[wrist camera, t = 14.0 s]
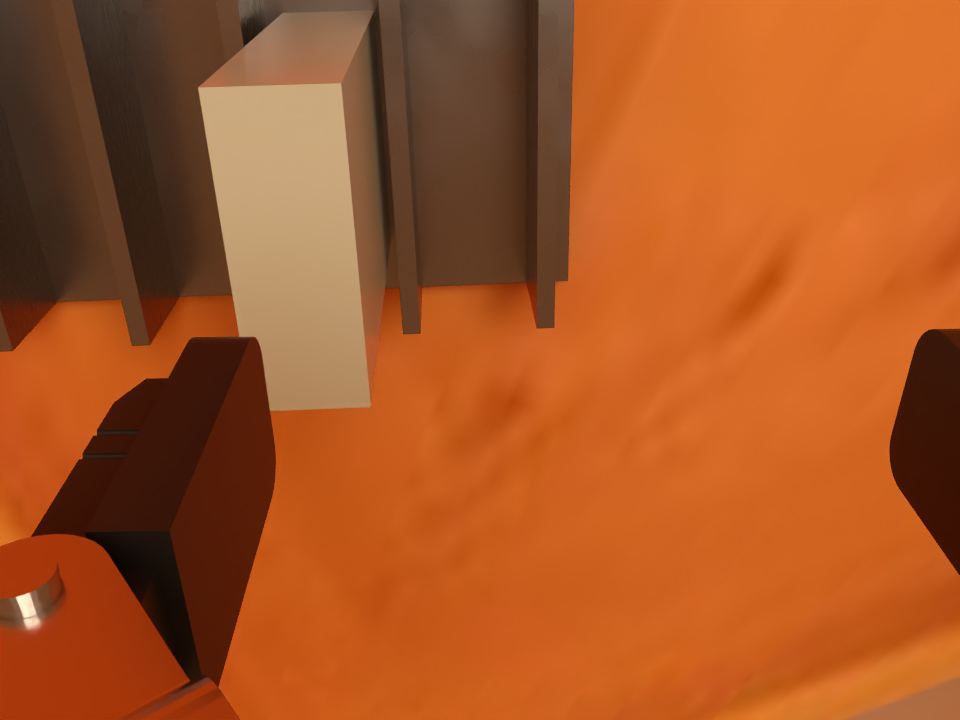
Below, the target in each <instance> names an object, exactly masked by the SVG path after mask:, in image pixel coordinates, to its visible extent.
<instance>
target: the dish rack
mask: <svg viewBox="0 0 960 720" xmlns="http://www.w3.org/2000/svg"><path fill="white" fill-rule="evenodd" d="M367 10H374V12H375V26H376V40H377V54H378V68H379V81H380V95H381V109H382V123H383V137H384V151H385V165H386V179H387V193H388V207H389V221H390V235H391V243H390V251H389V259H388V268H387V276H386V285H385V288H400V299H401V313H402V326H403V334H420V333H421V303H422V287H429V286H453V285H477V284H501V283H525V282H526V283H527V288H528V292H529V296H530V301H531V305H532V309H533V314H534V318H535V323H536V327H537V328H554V310H555V281H568V252H569V208H570V164H571V121H572V77H573V33H574V0H0V352H2V351H13V350H14V349H15V348H16V347H17V346H18V345H19V344H20V343H21V341H22V340H23V339H24V338H25V337H26V336H27V335H28V334H29V332H30V331H31V330H32V329H33V328H34V327H35V326H36V325H37V324H38V322H39V321H40V320H41V319H42V318H43V317H44V316H45V315H46V313H47V312H48V311H49V310H50V309H51V308H52V307H53V306H54V304H55V303H56V302H68V301H92V300H116V299H121V301H122V305H123V309H124V313H125V318H126V322H127V326H128V330H129V335H130V339H131V343H132V346H141V345H150V344H151V343H152V341H153V339H154V338H155V336H156V334H157V333H158V331H159V330H160V328H161V326H162V325H163V323H164V321H165V320H166V318H167V316H168V315H169V313H170V311H171V310H172V308H173V307H174V305H175V303H176V302H177V300H178V298H179V297H189V296H213V295H232V289H231V283H230V277H229V271H228V265H227V259H226V253H225V247H224V241H223V235H222V229H221V223H220V217H219V211H218V205H217V199H216V193H215V187H214V181H213V175H212V169H211V163H210V157H209V151H208V145H207V139H206V133H205V127H204V121H203V114H202V108H201V102H200V96H199V90H198V87H199V86H200V85H202V84H203V83H204V82H205V81H206V80H207V79H208V78H209V77H211V76H212V75H213V74H214V73H215V72H216V71H217V70H219V69H220V68H221V67H222V66H223V65H224V64H225V63H226V62H228V61H229V60H230V59H231V58H232V57H233V56H234V55H236V54H237V53H238V52H239V51H240V50H241V49H242V48H243V47H245V46H246V45H247V44H248V43H249V42H250V41H251V40H253V39H254V38H255V37H256V36H257V35H258V34H259V33H261V32H262V31H263V30H264V29H265V28H266V27H267V26H268V25H270V24H271V23H272V22H273V21H274V20H275V19H276V18H278V17H279V16H280V15H281V14H282V13H295V12H331V11H367Z"/></svg>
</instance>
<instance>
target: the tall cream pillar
mask: <svg viewBox="0 0 960 720" xmlns="http://www.w3.org/2000/svg"><path fill="white" fill-rule="evenodd" d="M198 90H199V96H200V102H201V108H202V114H203V121H204V127H205V133H206V139H207V145H208V151H209V157H210V163H211V169H212V175H213V181H214V187H215V193H216V199H217V205H218V211H219V217H220V223H221V229H222V235H223V241H224V247H225V253H226V259H227V265H228V271H229V277H230V283H231V289H232V295H233V302H234V308H235V314H236V320H237V326H238V332H239V337H256V339H257V340H258V342H259V345H260V348H261V352H262V358H263V365H264V372H265V379H266V386H267V394H268V401H269V408H270V411H289V410H313V409H337V408H362V407H371V402H372V393H373V385H374V377H375V368H376V360H377V351H378V343H379V335H380V326H381V318H382V310H383V301H384V293H385V285H386V276H387V268H388V259H389V251H390V243H391V235H390V221H389V207H388V193H387V179H386V165H385V151H384V137H383V123H382V109H381V95H380V81H379V68H378V54H377V40H376V26H375V12H374V10H367V11H331V12H295V13H282V14H281V15H280V16H279V17H278V18H276V19H275V20H274V21H273V22H272V23H271V24H270V25H268V26H267V27H266V28H265V29H264V30H263V31H262V32H261V33H259V34H258V35H257V36H256V37H255V38H254V39H253V40H251V41H250V42H249V43H248V44H247V45H246V46H245V47H243V48H242V49H241V50H240V51H239V52H238V53H237V54H236V55H234V56H233V57H232V58H231V59H230V60H229V61H228V62H226V63H225V64H224V65H223V66H222V67H221V68H220V69H219V70H217V71H216V72H215V73H214V74H213V75H212V76H211V77H209V78H208V79H207V80H206V81H205V82H204V83H203V84H202V85H200V86H199V87H198Z"/></svg>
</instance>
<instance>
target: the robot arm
mask: <svg viewBox="0 0 960 720" xmlns="http://www.w3.org/2000/svg"><path fill="white" fill-rule="evenodd" d="M890 463H891V469H892V473H893V476H894V479H895V481H896V484H897V486H898V487H899V489H900V490H901V492H902V493H903V495H904V496H905V498H906V499H907V500H908V502H909V503H910V505H911V506H912V508H913V509H914V510H915V512H916V513H917V515H918V516H919V518H920V519H921V521H922V522H923V523H924V525H925V526H926V528H927V529H928V531H929V532H930V533H931V535H932V536H933V538H934V539H935V541H936V542H937V543H938V545H939V546H940V548H941V549H942V551H943V552H944V554H945V555H946V556H947V558H948V559H949V561H950V562H951V564H952V565H953V566H954V568H955V569H956V571H957V572H958V574H959V575H960V329H932V330H928V331H927V332H925V333H924V334H923V335H922V336H921V338H920V339H919V341H918V343H917V345H916V347H915V350H914V354H913V358H912V361H911V365H910V369H909V372H908V376H907V380H906V383H905V387H904V391H903V394H902V398H901V402H900V405H899V409H898V413H897V416H896V420H895V424H894V427H893V431H892V435H891V440H890ZM275 468H276V459H275V444H274V436H273V429H272V422H271V415H270V408H269V401H268V394H267V386H266V379H265V372H264V365H263V358H262V352H261V348H260V345H259V342H258V340H257V339H256V337H194V338H191V339H190V340H189V341H188V343H187V345H186V347H185V349H184V350H183V352H182V354H181V356H180V358H179V360H178V361H177V363H176V365H175V367H174V369H173V371H172V372H171V374H170V376H169V378H159V379H145V380H144V381H143V382H141V383H140V384H139V385H137V386H136V387H135V388H133V389H132V390H131V391H129V392H128V393H126V394H125V395H124V396H122V397H121V398H120V399H118V400H117V401H116V402H114V404H113V405H112V407H111V408H110V410H109V412H108V413H107V415H106V416H105V418H104V420H103V421H102V423H101V425H100V426H99V428H98V429H97V436H93V438H92V439H91V441H90V442H89V444H88V446H87V447H86V449H85V450H84V452H83V459H79V460H78V462H77V463H76V465H75V467H74V468H73V470H72V471H71V473H70V475H69V476H68V478H67V480H66V481H65V483H64V484H63V486H62V488H61V489H60V491H59V493H58V494H57V496H56V497H55V499H54V501H53V502H52V504H51V505H50V507H49V509H48V510H47V512H46V514H45V515H44V517H43V518H42V520H41V522H40V523H39V525H38V526H37V528H36V530H35V531H34V533H33V535H32V536H31V537H29V538H25V539H21V540H17V541H14V542H11V543H9V544H6V545H3V546H1V547H0V720H240V719H239V717H238V716H237V714H236V713H235V711H234V710H233V708H232V707H231V705H230V704H229V702H228V701H227V699H226V698H225V697H224V695H223V694H222V692H221V691H220V689H219V688H218V686H219V682H220V679H221V675H222V672H223V668H224V665H225V661H226V658H227V654H228V651H229V647H230V644H231V640H232V637H233V633H234V630H235V626H236V622H237V619H238V615H239V612H240V608H241V605H242V601H243V598H244V594H245V591H246V587H247V584H248V580H249V577H250V573H251V570H252V566H253V562H254V559H255V555H256V552H257V548H258V545H259V541H260V538H261V534H262V531H263V527H264V524H265V520H266V517H267V513H268V510H269V506H270V502H271V499H272V495H273V490H274V483H275Z"/></svg>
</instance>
